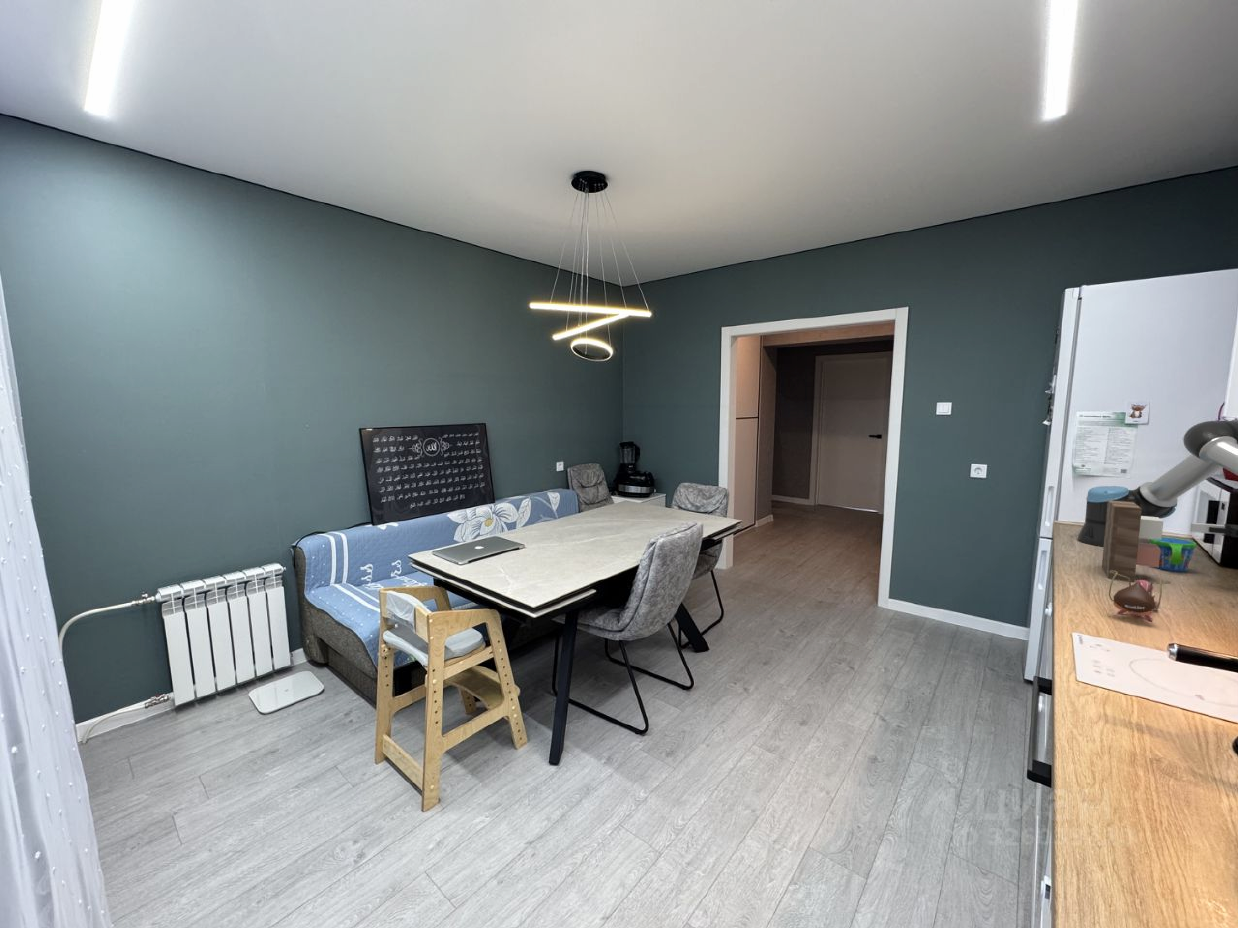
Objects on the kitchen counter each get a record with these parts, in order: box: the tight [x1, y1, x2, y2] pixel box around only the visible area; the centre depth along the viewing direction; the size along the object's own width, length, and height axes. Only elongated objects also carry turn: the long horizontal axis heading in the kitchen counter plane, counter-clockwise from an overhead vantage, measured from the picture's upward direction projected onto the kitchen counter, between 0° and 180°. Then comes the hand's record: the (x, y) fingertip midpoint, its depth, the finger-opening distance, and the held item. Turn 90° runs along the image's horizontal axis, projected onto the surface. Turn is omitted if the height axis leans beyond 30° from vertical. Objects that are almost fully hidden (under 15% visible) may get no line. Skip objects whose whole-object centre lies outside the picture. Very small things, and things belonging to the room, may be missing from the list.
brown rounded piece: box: [1108, 571, 1172, 623], centre depth 132 cm, size 11×15×17 cm
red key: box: [1136, 542, 1160, 568], centre depth 159 cm, size 7×5×6 cm
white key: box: [1139, 516, 1164, 540], centre depth 158 cm, size 7×5×6 cm
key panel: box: [1101, 500, 1142, 583], centre depth 162 cm, size 14×6×24 cm, turn 142°
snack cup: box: [1149, 536, 1197, 573], centre depth 167 cm, size 16×10×10 cm
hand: (1191, 527), depth 152 cm, fingers closed
